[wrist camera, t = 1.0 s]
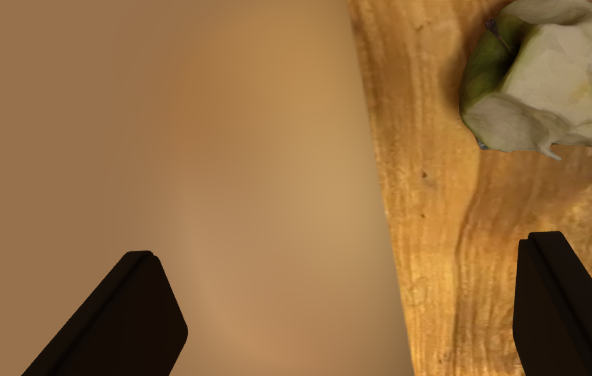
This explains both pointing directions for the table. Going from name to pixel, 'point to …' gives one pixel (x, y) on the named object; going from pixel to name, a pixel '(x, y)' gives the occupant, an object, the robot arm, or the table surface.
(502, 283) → the table surface
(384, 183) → the table surface
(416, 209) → the table surface
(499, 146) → the fruit
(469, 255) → the table surface
